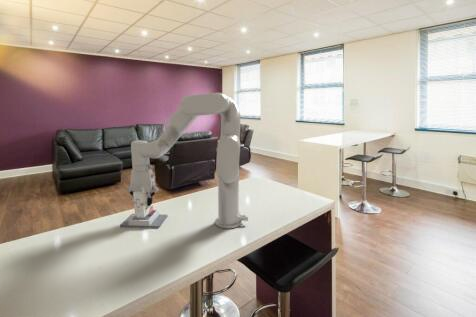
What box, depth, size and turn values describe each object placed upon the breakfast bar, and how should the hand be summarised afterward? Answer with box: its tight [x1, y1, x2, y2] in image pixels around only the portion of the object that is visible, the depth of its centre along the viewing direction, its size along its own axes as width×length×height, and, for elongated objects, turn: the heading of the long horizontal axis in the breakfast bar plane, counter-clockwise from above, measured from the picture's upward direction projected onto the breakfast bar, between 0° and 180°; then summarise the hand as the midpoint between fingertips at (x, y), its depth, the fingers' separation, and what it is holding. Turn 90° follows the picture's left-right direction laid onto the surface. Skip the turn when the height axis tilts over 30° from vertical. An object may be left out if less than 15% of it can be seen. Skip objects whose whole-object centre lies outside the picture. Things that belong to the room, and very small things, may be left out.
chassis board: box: [119, 209, 169, 229], centre depth 130 cm, size 18×13×4 cm
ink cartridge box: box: [132, 186, 154, 217], centre depth 128 cm, size 9×5×15 cm, turn 169°
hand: (143, 204), depth 129 cm, fingers closed on ink cartridge box, 5 cm apart
